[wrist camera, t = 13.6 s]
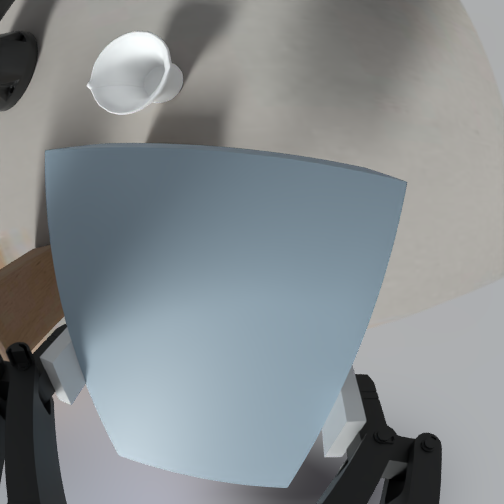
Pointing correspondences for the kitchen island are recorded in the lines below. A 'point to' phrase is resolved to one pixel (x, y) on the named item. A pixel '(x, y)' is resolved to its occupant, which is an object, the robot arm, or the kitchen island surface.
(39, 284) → the wooden block
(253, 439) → the lid
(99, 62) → the cup
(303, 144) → the kitchen island surface
